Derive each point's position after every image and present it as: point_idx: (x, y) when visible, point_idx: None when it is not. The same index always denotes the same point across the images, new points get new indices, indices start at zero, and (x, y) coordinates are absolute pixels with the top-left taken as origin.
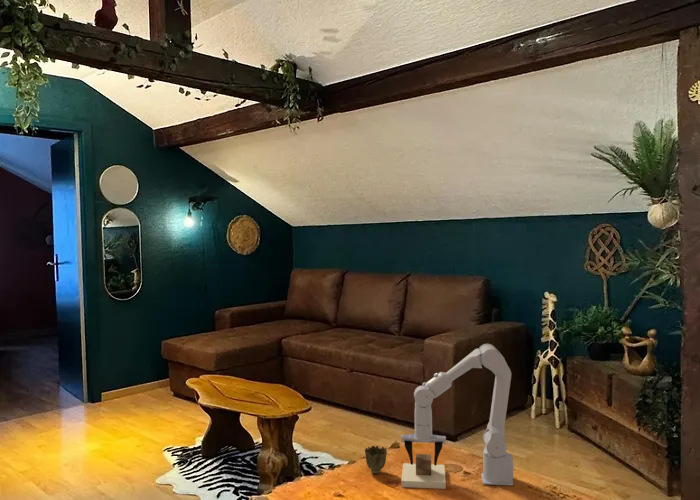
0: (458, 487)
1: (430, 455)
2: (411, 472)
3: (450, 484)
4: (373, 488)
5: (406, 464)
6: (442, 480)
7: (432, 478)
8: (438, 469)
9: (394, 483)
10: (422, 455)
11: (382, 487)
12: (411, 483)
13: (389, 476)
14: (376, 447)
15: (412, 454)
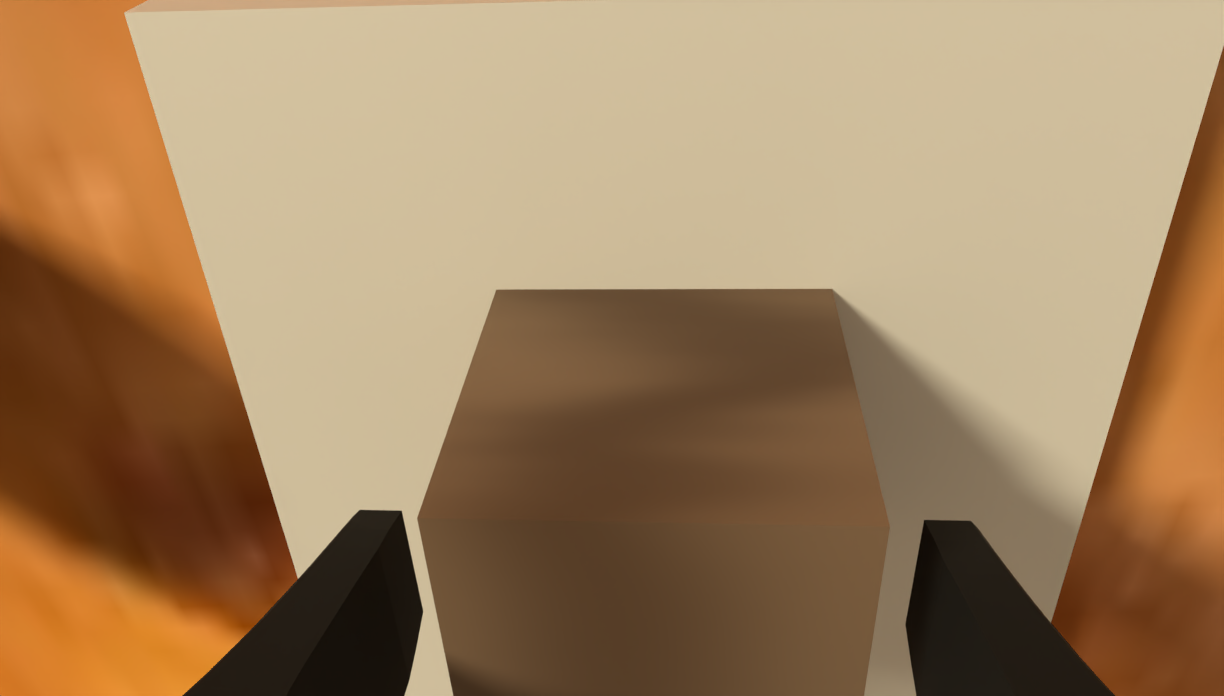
0: (1210, 596)
1: (862, 580)
2: (430, 449)
3: (1109, 523)
4: (27, 665)
5: (230, 84)
6: None
7: None
8: (1003, 282)
9: (236, 543)
10: (619, 588)
11: (123, 641)
12: None
13: (68, 340)
14: None
15: (331, 648)
